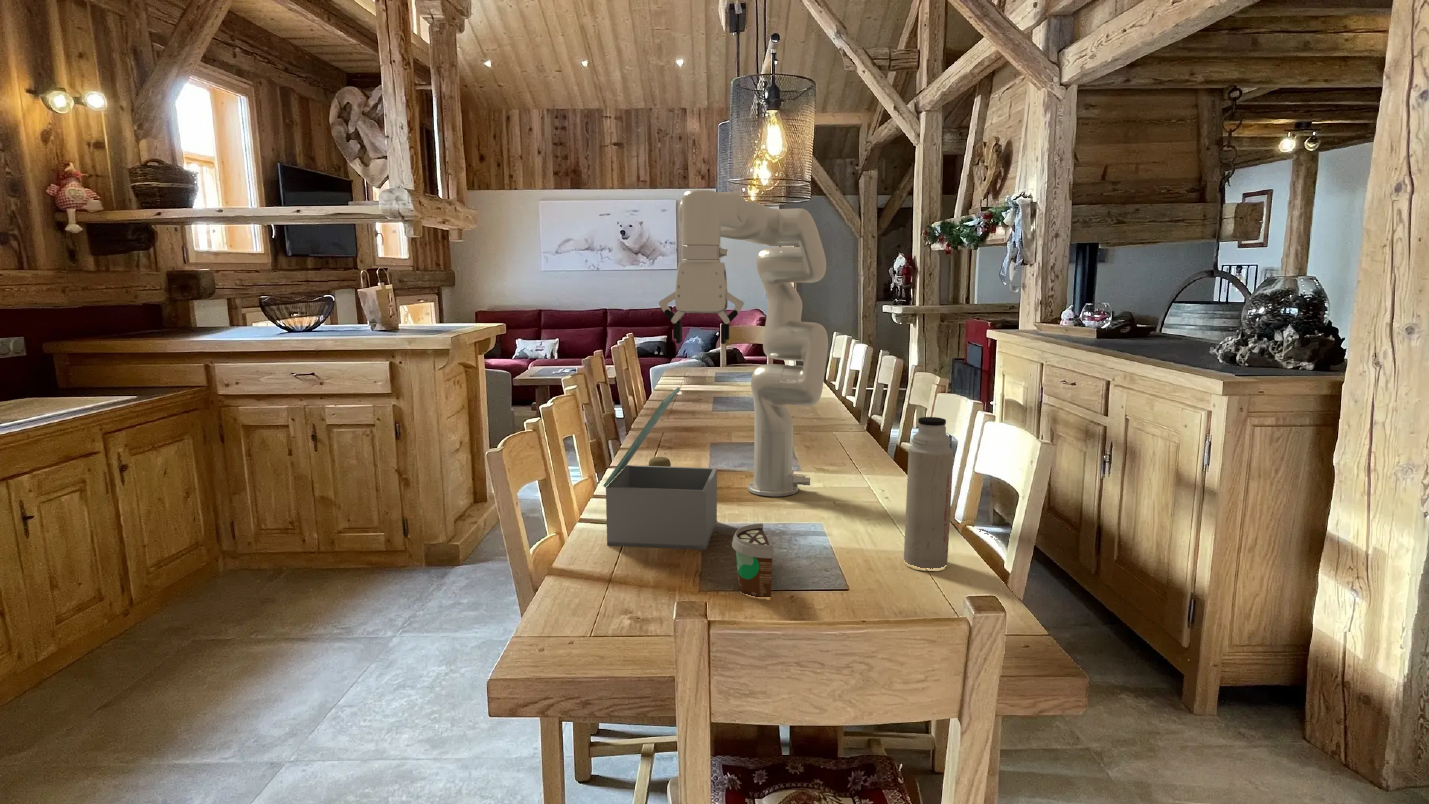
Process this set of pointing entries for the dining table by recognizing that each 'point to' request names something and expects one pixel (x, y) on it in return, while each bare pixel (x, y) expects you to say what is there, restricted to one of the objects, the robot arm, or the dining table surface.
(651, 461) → the cork
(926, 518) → the thermos bottle
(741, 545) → the food container
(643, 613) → the dining table surface
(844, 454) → the dining table surface
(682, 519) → the carton
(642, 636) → the dining table surface
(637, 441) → the lid
